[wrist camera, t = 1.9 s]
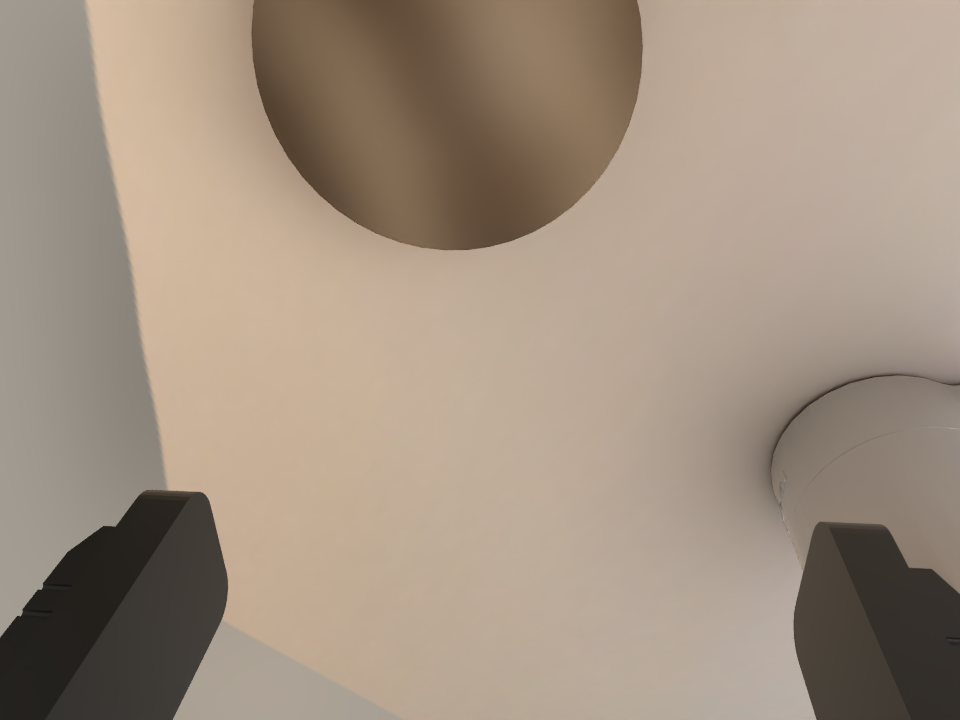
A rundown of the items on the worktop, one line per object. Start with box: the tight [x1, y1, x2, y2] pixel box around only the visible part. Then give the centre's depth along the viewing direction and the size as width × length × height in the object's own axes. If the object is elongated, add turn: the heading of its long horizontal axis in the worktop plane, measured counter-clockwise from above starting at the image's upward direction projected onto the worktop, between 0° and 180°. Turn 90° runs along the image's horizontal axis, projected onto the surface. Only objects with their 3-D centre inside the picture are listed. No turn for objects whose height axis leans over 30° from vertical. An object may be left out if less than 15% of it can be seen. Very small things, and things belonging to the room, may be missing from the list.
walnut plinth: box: [252, 0, 643, 250], centre depth 27 cm, size 12×12×5 cm
